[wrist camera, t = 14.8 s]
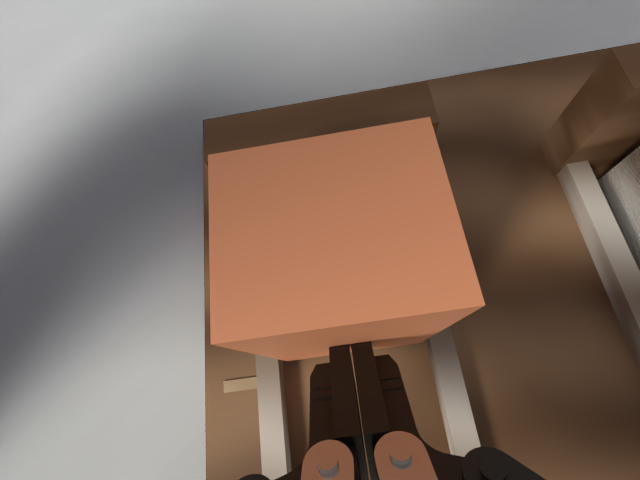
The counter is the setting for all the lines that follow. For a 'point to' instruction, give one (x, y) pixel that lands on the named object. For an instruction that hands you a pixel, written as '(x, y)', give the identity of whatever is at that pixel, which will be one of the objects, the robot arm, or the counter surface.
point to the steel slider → (625, 199)
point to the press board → (481, 276)
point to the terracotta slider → (336, 243)
